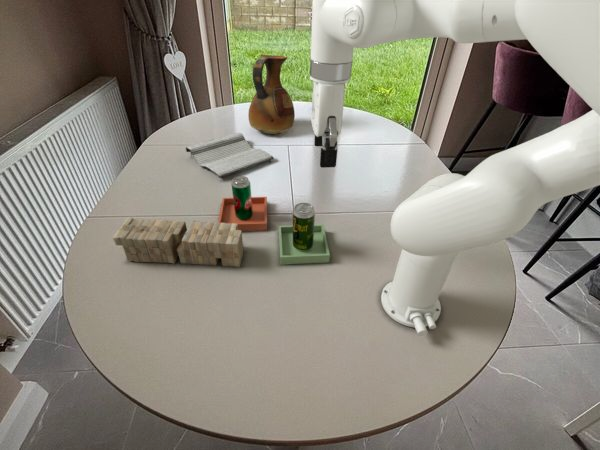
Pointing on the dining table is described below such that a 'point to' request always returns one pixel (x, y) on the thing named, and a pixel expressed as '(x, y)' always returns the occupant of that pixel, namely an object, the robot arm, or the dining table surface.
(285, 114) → the ceramic pitcher
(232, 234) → the block tower
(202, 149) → the mat
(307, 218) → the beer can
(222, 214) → the terracotta tray
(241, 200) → the soda can
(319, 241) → the green tray
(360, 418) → the dining table surface
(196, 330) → the dining table surface
